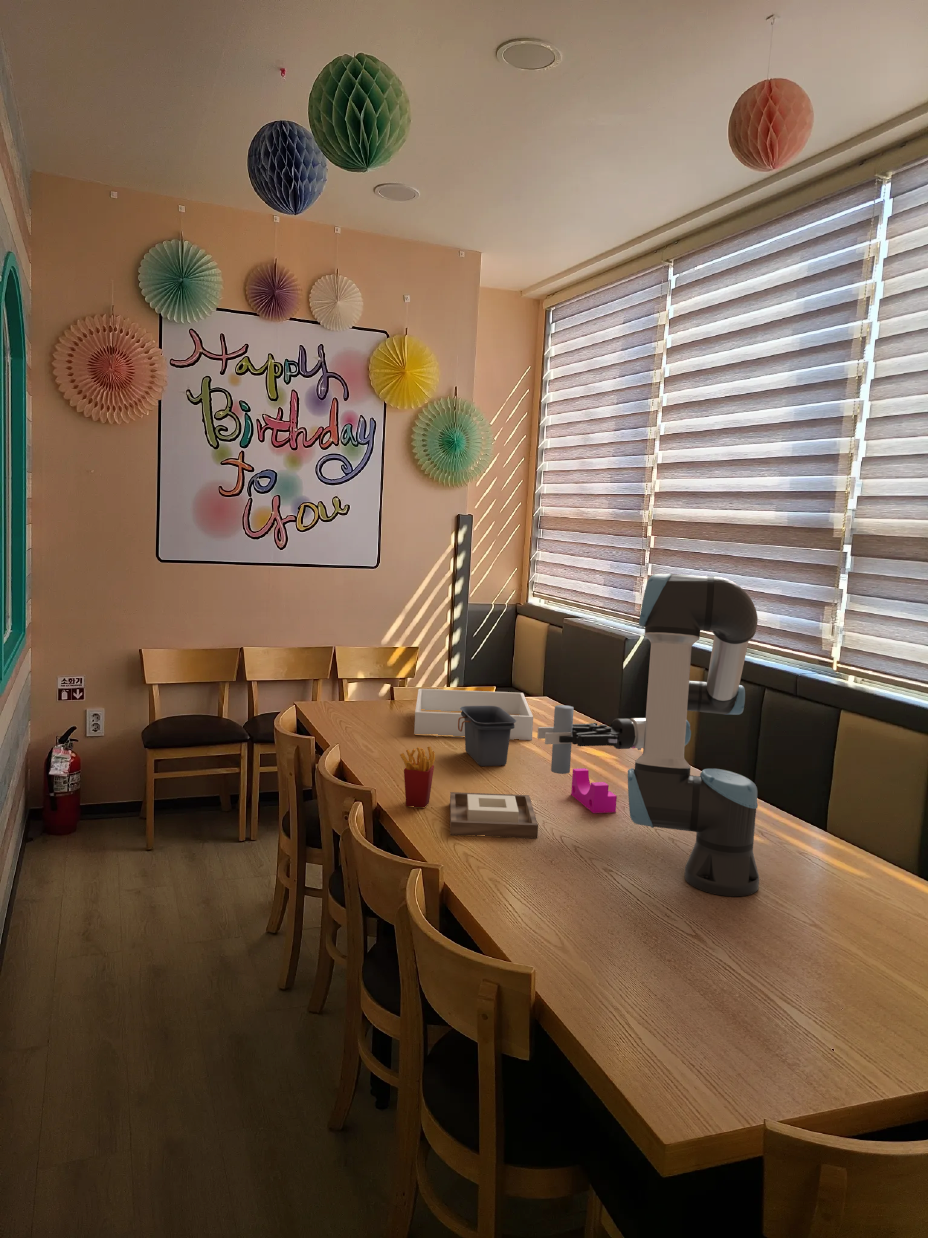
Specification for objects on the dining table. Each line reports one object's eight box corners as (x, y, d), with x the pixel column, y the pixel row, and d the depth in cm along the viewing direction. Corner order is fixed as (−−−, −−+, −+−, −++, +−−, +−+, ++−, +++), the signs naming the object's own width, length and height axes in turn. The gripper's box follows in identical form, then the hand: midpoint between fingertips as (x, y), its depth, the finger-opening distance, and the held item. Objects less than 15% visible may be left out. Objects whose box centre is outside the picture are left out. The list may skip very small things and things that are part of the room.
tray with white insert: (537, 838, 213) (538, 825, 212) (450, 835, 212) (451, 822, 212) (528, 807, 235) (529, 795, 234) (449, 804, 234) (450, 792, 234)
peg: (570, 774, 220) (574, 709, 218) (552, 773, 220) (555, 709, 218) (568, 768, 225) (572, 705, 223) (550, 768, 225) (553, 704, 223)
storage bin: (517, 768, 270) (520, 721, 268) (467, 770, 266) (469, 722, 264) (495, 749, 290) (497, 705, 289) (449, 750, 286) (450, 706, 284)
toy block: (615, 813, 234) (617, 784, 233) (593, 814, 233) (595, 785, 232) (592, 794, 249) (594, 768, 248) (571, 795, 247) (572, 768, 246)
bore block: (517, 830, 218) (518, 811, 217) (467, 828, 217) (468, 810, 217) (513, 813, 230) (514, 796, 229) (466, 811, 229) (467, 794, 229)
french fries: (427, 810, 229) (429, 752, 227) (395, 806, 230) (397, 749, 229) (435, 799, 237) (437, 743, 236) (404, 796, 239) (407, 740, 237)
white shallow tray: (532, 740, 304) (533, 716, 303) (414, 735, 303) (415, 712, 302) (522, 713, 343) (523, 692, 342) (417, 709, 342) (418, 688, 341)
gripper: (644, 758, 218) (553, 761, 212) (614, 739, 235) (529, 741, 229) (646, 727, 217) (555, 729, 211) (616, 710, 234) (530, 712, 228)
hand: (541, 735), depth 220 cm, fingers closed on peg, 4 cm apart
